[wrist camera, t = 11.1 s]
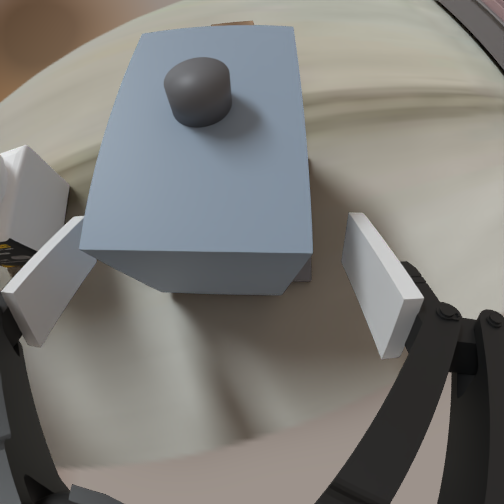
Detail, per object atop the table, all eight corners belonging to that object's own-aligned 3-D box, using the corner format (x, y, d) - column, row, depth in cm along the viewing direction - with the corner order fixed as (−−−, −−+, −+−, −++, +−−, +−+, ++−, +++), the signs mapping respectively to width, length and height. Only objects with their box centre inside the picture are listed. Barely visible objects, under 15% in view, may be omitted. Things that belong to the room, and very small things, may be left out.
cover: (161, 292, 20) (54, 236, 8) (178, 140, 23) (135, 12, 11) (281, 295, 20) (323, 238, 8) (279, 139, 23) (296, 3, 11)
